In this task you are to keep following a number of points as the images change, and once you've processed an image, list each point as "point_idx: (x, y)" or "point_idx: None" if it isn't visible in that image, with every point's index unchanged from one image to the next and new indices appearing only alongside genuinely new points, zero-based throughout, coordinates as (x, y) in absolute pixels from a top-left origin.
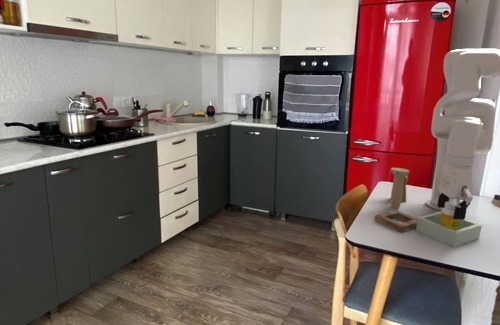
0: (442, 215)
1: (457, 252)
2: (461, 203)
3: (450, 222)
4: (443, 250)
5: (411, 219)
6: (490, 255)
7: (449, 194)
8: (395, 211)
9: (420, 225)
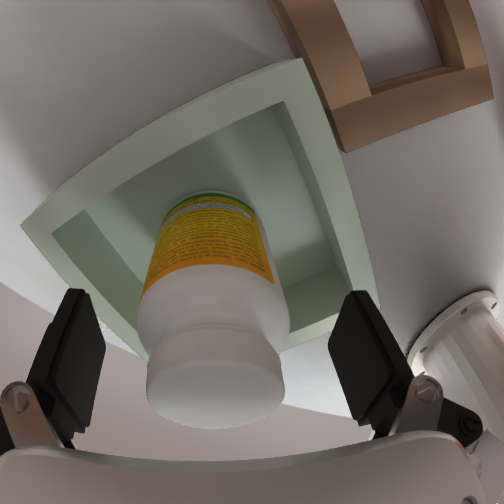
0: (206, 248)
1: (14, 175)
2: (4, 431)
3: (150, 263)
4: (21, 115)
5: (383, 90)
6: (31, 290)
7: (75, 501)
8: (481, 75)
9: (256, 72)
